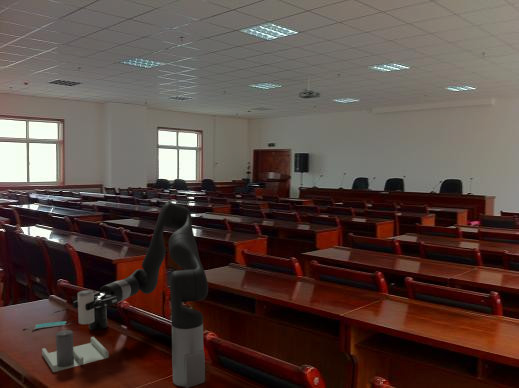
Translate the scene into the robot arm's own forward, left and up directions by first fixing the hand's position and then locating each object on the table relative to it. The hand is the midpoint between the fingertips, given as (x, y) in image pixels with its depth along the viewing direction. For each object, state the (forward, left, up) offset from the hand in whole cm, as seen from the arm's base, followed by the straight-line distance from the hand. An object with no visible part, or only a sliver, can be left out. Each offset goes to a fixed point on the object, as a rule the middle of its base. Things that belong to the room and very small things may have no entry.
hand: (80, 306), depth 149 cm
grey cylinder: (-3, +6, -17) cm, 18 cm away
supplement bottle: (+25, -13, -18) cm, 34 cm away
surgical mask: (+39, +1, -18) cm, 43 cm away
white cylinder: (+1, -2, -6) cm, 7 cm away
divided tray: (+1, +2, -18) cm, 18 cm away
